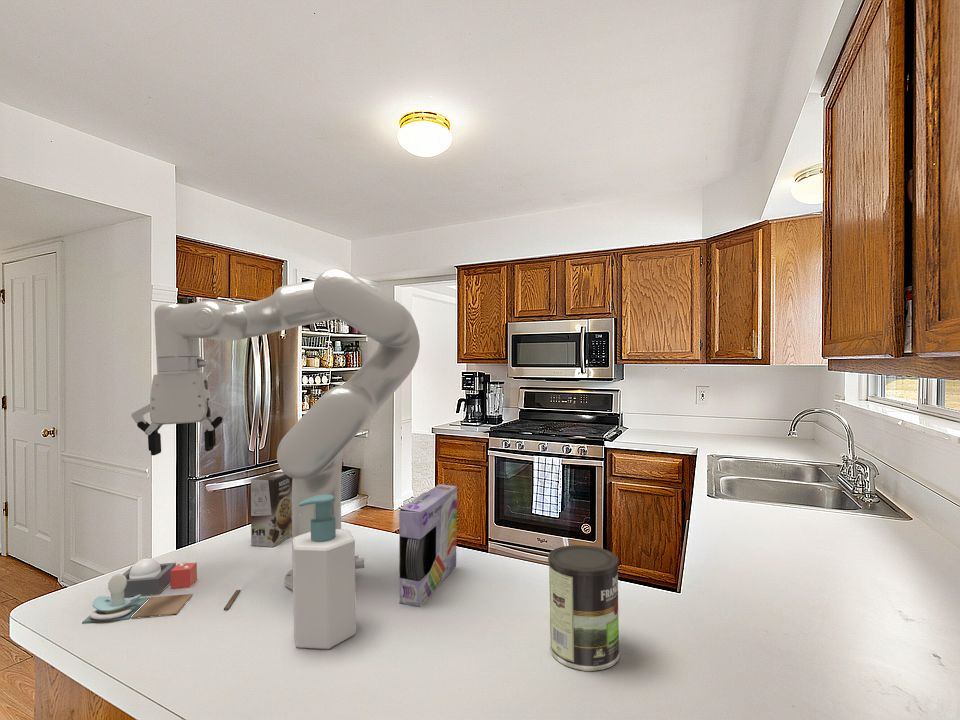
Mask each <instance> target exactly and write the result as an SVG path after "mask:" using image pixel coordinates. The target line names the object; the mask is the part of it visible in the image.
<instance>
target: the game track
mask: <svg viewBox="0 0 960 720" xmlns="http://www.w3.org/2000/svg"><path fill="white" fill-rule="evenodd" d="M240 593H241V589H235V591H234V592H233V594H232V595H231V597H230V598H229V600H228V601H227V603H226V604H225V606H224V608H223V611H229V609H231V606H232V605H233V603H234V602H235V601H236V600H237V598H238V596H239V595H240ZM192 595H194V593H186V594H176V595H173V594H172V595H165V596H164V595H162V596H152V597H139V598H138V599H137V600H136V601H134V602H133V603H131V604H130V605H129V607H131V608H132V611H131V612H130V613H128V614H126V615H124V616H121V617H117V618H112V619H93V618H91V617H90V615H88V616H87V617H86V618H85V619H84V620H82V621H81V622H82V624H83V625H84V624H91V623H102V622H111V621H112V622H114V621H115V622H116V621H123V620H124V619H126V620H130V619H131V618H137V619H139V618H138V617H147V618H151V617H150V616H158V617H160V616H159V615H169V616H172V615H171V614H177V613H179V612H180V611H181V610H182V609H183V608H184V606H186V604H187V603H188V602H189V601H190V599H191V598H192V597H193V596H192ZM127 599H128V598H126V599H125V600H127ZM148 599H149V600H148ZM147 600H148V601H147ZM146 601H147V602H146ZM187 601H188V602H187ZM109 602H110V601H106V603H109ZM145 602H146V603H145ZM186 602H187V603H186ZM144 603H145V604H144ZM185 603H186V604H185ZM143 604H144V605H143ZM142 605H143V606H142ZM141 606H142V607H141ZM140 607H141V608H140ZM182 607H183V608H182ZM139 608H140V609H139ZM181 608H182V609H181ZM138 609H139V610H138ZM180 609H181V610H180ZM137 610H138V611H137ZM179 610H180V611H179ZM136 611H137V612H136ZM135 612H136V613H135ZM134 613H135V614H134ZM99 614H100V615H108V614H106V613H105V612H101V613H99ZM133 614H134V615H133ZM132 615H133V616H132ZM177 615H178V614H177ZM131 616H132V617H131ZM130 617H131V618H130ZM129 618H130V619H129Z"/></svg>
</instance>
